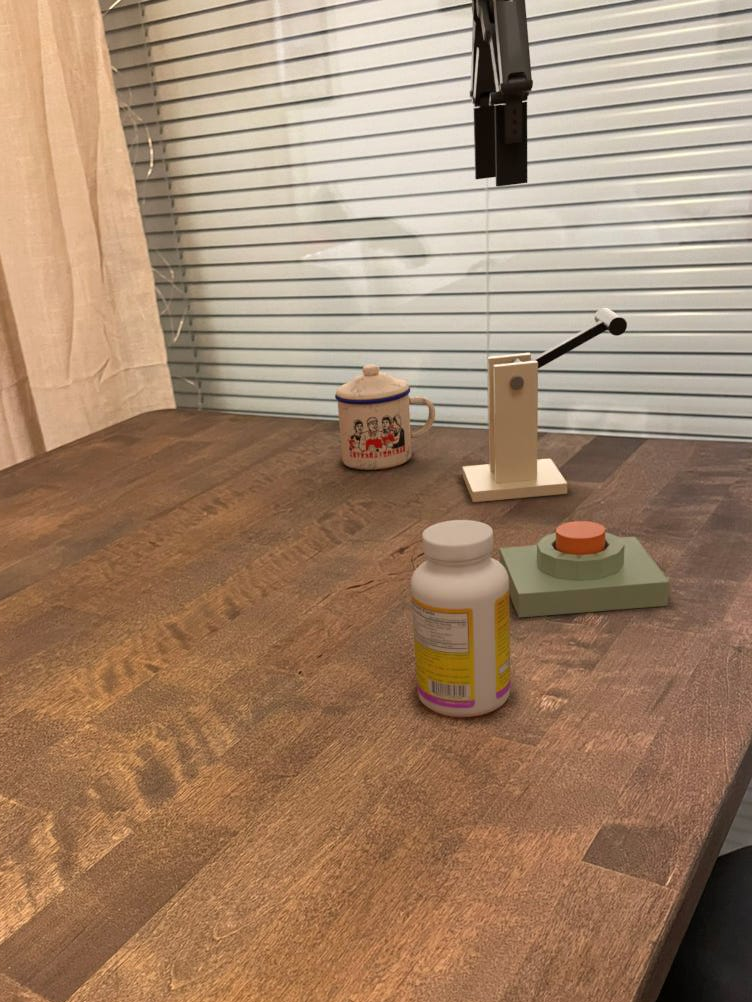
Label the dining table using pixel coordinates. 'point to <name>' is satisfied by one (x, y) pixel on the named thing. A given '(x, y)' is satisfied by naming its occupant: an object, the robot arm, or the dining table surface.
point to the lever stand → (513, 437)
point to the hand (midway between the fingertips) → (499, 181)
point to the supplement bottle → (461, 621)
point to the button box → (583, 578)
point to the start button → (580, 538)
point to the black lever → (584, 336)
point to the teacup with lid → (377, 420)
